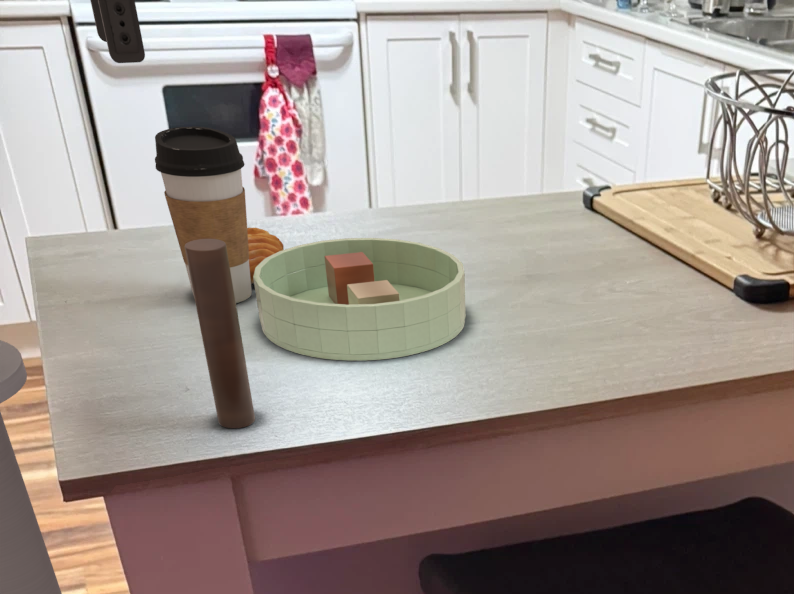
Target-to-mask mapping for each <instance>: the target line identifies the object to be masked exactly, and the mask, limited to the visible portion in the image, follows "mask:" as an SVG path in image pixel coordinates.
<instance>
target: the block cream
mask: <svg viewBox="0 0 794 594" xmlns="http://www.w3.org/2000/svg"><path fill="white" fill-rule="evenodd" d="M347 290H348V300H349V305H352V304H378V303H386V302H394V301H400V300H399V293H398V292H397V291H396V289H395V288H394V287H393V286H392V285H391V284H390V283H389V282H388V280H383V281H374V282H365V283H356V284H348V285H347Z"/></svg>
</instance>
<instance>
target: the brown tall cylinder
mask: <svg viewBox="0 0 794 594" xmlns="http://www.w3.org/2000/svg"><path fill="white" fill-rule="evenodd" d="M185 252H186V257H187V262H188V267H189V272H190V278H191V283H192V288H193V292H192V294H193V293H194V296H193V299H194V303H195V309H196V315H197V319H198V324H199V328H200V329H199V330H200V333H201V334H200V335H201V339H202V345H203V348H204V354H205V355H204V356H205V358H206V359H205V360H206V364H207V370H208V375H209V376H208V377H209V380H210V386H211V391H212V396H213V401H214V407H215V411H216V416H217V422H218V424H219V425H220V426H221V427H223V428H226V429H242V428H246V427H248V426H250V425H252V424H254V423H255V422H256V415H255V410H254V409H255V408H254V401H253V399H252V398H253V397H252V396H253V395H252V391H251V385H250V380H249V374H248V367H247V361H246V355H245V350H244V343H243V337H242V332H241V331H242V330H241V326H240V319H239V315H238V314H239V313H238V309H237V308H238V307H237V303H236V301H235V296H234V290H233V284H232V278H231V272H230V266H229V260H228V254H227V248H226V244H225V242H224V241H221V240H218V239H198V240H193V241H190V242H188V243H186V244H185ZM192 288H191V289H192Z"/></svg>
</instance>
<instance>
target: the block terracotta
mask: <svg viewBox="0 0 794 594" xmlns="http://www.w3.org/2000/svg"><path fill="white" fill-rule="evenodd" d="M325 266H326V275H327V284H328V293H329V297H330V298H331V299H332V301H333V302H334V304H345V305H349V300H348V290H347V285H348V284H356V283H365V282H374V269H373V263H372V262H371V261H370V260H369V259H368V258H367V257H366V255H365V254H364V253H363V252H358V253H348V254H339V255H329V256H325Z"/></svg>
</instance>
